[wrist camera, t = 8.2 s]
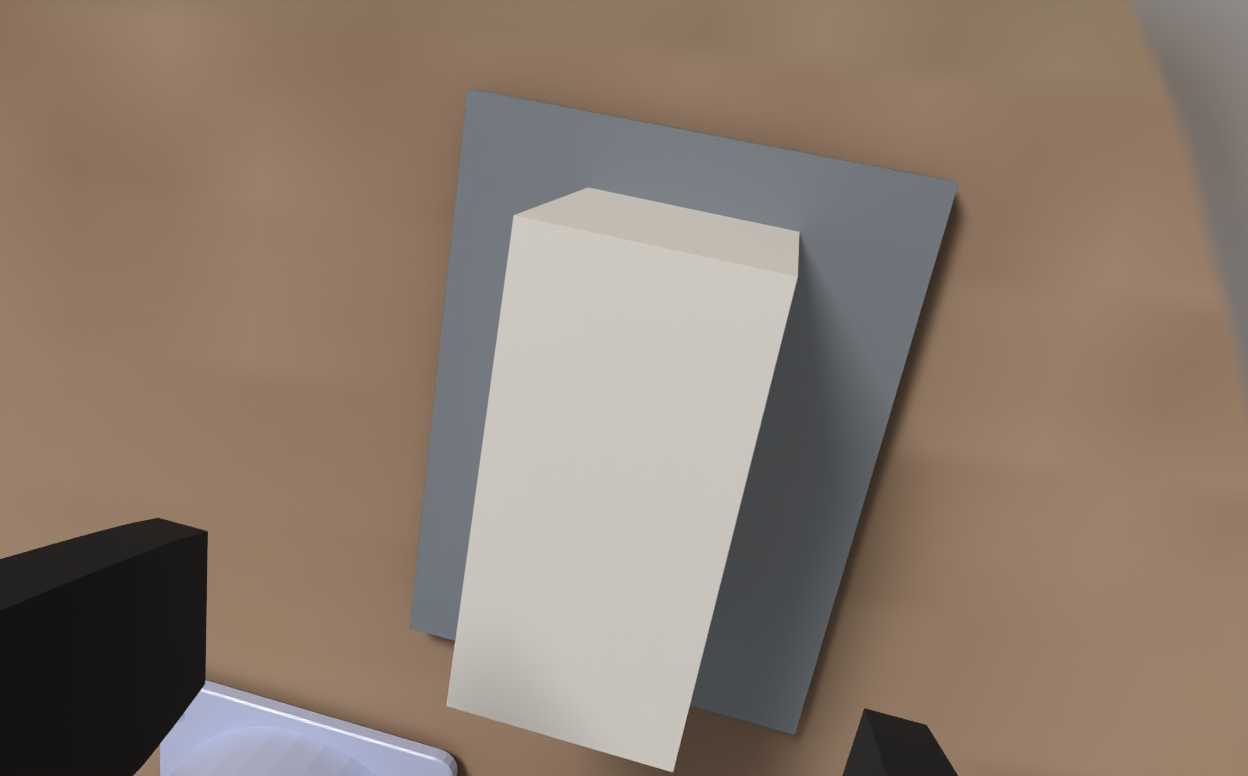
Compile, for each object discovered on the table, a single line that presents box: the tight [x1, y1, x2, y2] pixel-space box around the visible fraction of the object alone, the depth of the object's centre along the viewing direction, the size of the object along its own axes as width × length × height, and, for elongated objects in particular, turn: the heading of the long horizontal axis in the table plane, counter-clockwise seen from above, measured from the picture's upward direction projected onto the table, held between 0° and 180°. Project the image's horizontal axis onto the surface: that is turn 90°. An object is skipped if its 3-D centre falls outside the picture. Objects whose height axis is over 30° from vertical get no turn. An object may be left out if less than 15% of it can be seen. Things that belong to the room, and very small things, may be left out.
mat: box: [410, 89, 959, 735], centre depth 18 cm, size 12×9×1 cm
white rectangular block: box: [447, 188, 799, 772], centre depth 15 cm, size 4×8×4 cm, turn 169°
